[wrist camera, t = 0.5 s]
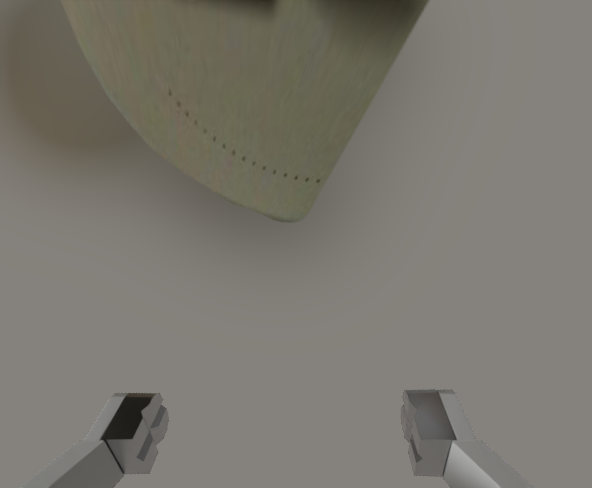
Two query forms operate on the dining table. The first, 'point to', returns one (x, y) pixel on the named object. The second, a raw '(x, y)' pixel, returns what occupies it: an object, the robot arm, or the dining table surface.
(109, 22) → the dining table surface
